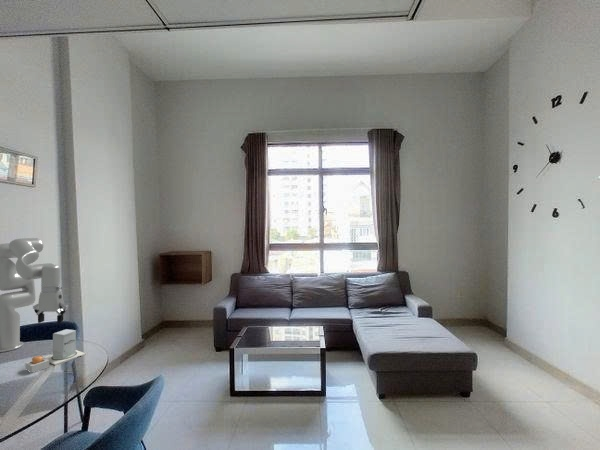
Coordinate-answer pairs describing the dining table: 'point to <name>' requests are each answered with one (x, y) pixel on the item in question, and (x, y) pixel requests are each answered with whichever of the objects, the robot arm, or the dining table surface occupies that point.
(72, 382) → the dining table surface
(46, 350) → the dining table surface
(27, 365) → the button housing
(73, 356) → the picture board
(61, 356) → the supplement box
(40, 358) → the button
